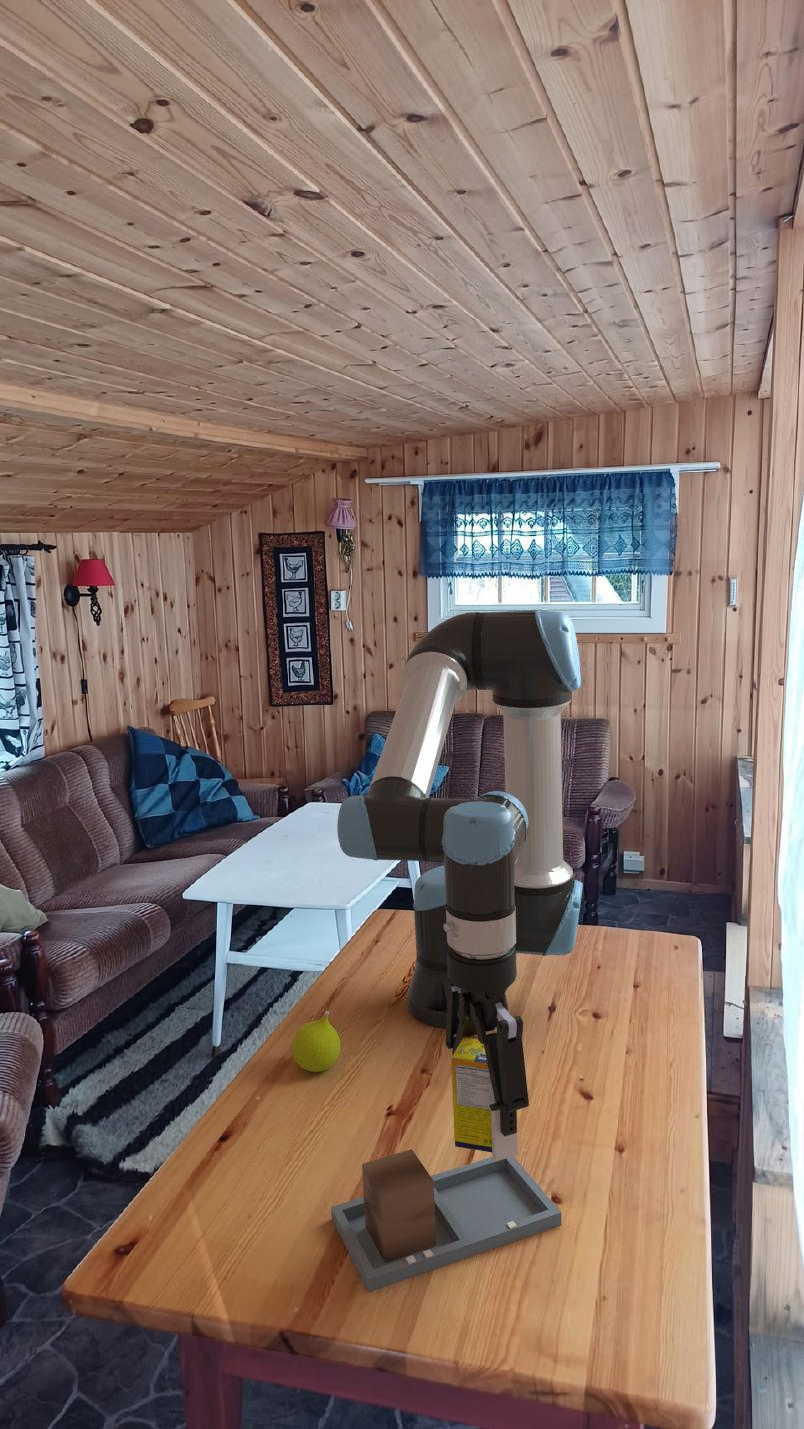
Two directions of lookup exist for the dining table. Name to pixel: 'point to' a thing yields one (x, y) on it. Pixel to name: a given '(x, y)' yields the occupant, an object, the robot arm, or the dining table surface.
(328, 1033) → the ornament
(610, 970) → the dining table surface
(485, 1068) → the supplement box
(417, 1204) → the walnut block
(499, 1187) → the slot tray
